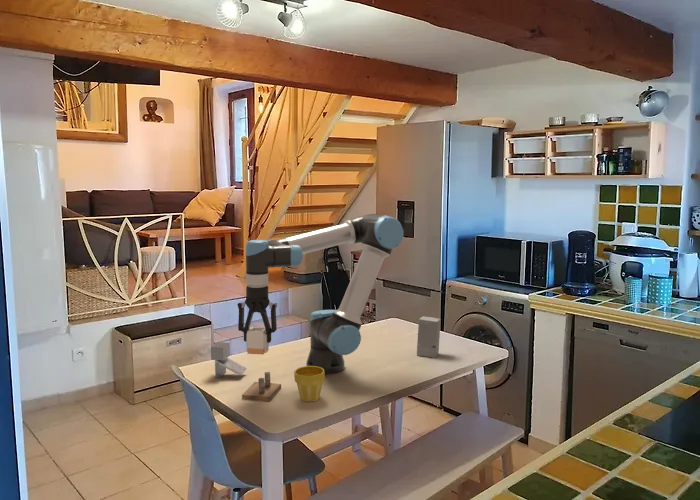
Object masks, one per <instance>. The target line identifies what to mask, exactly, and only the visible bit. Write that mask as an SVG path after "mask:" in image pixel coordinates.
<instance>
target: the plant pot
mask: <svg viewBox="0 0 700 500" xmlns="http://www.w3.org/2000/svg"><path fill="white" fill-rule="evenodd" d="M325 375H326V374H325V371H324V369H323V368H321V367H317V366H300V367H298V368H296V369H295V370H294V375H293V376H294V382H295V383H296V385H297V389H298V393H299V397H300V400H301V401H304V402H306V403H307V402H315V401H318V400H319V399H320V397H321V392H322V388H323V383H324V381H325V378H326V377H325Z"/></svg>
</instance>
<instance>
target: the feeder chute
mask: <svg viewBox="0 0 700 500" xmlns="http://www.w3.org/2000/svg"><path fill="white" fill-rule="evenodd" d="M230 345H231V343H230V342H221V341H217V342H215V343H214V344H212V345H211V346H210V360H212V361H214V374H215V376H214V377H215V379H220V378H221V377H223V376H224V375H225V374H226V373H227V370H228V371H231V372H232V373H234V374H236V375H238V376H241V375H242V374H243V373H245V372H246V371H247V367H245V366H243V365H241V364H239V363H238V362H236V361H234V360H233V359H230V358H229V357H230V356H231V346H230Z"/></svg>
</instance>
